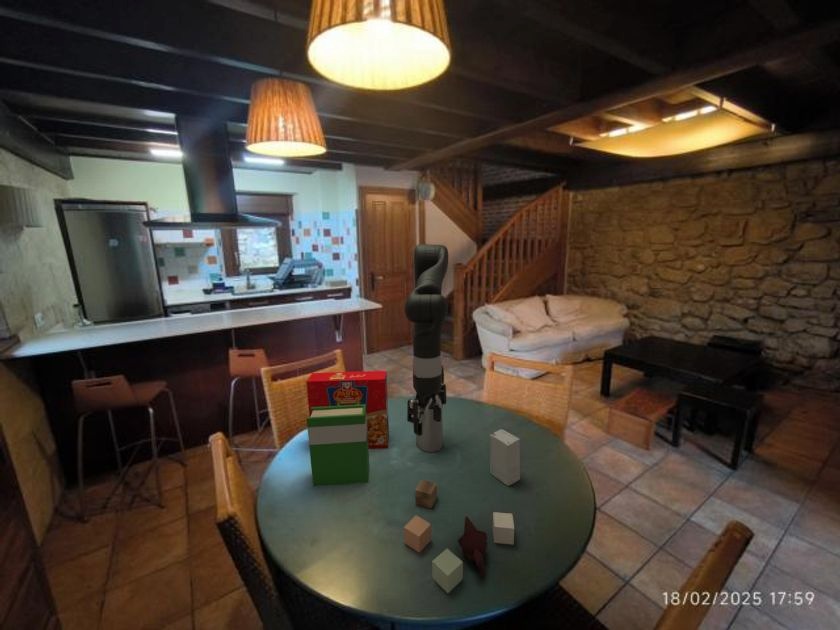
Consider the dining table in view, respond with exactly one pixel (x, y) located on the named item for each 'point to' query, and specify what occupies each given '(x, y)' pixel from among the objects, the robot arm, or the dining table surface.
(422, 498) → the walnut cube
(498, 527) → the cream cube
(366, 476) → the hardback book
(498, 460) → the skincare box
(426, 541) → the terracotta cube
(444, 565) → the sage cube
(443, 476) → the dining table surface
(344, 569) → the dining table surface
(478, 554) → the icecream
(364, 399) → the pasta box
